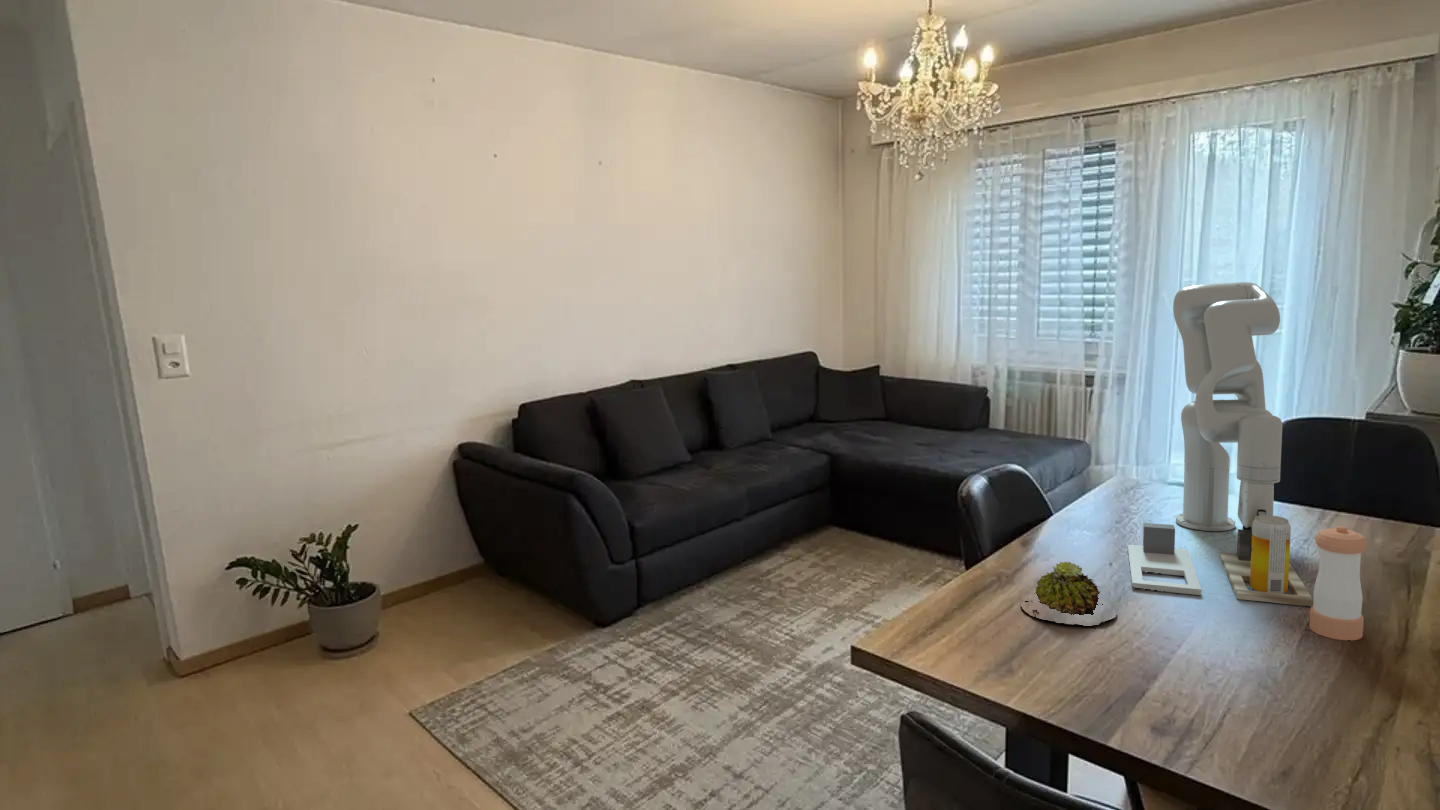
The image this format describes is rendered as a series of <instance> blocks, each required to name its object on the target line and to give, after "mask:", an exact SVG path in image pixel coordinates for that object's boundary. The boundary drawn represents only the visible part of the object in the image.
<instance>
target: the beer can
mask: <svg viewBox="0 0 1440 810" xmlns="http://www.w3.org/2000/svg"><path fill="white" fill-rule="evenodd" d="M1291 531H1292V526H1291V524H1290V523H1289V519H1288V518H1286V517H1282V516H1278V515H1273V516H1272V515H1260V516H1256V517H1255V520H1254V521H1253V523H1252V546H1251V570H1250V582H1249V587H1250V588H1251V589H1252V591H1259V592H1270V593H1280V594H1287V593H1288V591H1289V586H1288V575H1289V563H1290V555H1291V554H1290V552H1291V551H1290V550H1291Z"/></svg>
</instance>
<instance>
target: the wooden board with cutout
mask: <svg viewBox="0 0 1440 810" xmlns="http://www.w3.org/2000/svg"><path fill="white" fill-rule="evenodd" d="M1236 537H1237V538H1236V539H1237V540H1236V541H1237V543H1236V553H1235V552H1227V551H1226V552H1225V551H1223V552H1222V551H1219V552H1218V553H1219V555H1218V556H1219V557H1218V558H1219V560H1220V562H1221V565H1222V568H1223V569H1224V572H1225V574H1226V577H1227V580H1228V581H1229V583H1230V586H1231V589H1232V590H1233V593H1234V595H1235V597H1236V599H1237V600H1245V601H1254V602H1255V601H1256V602H1264V603H1273V604H1284V605H1294V606H1304V607H1312V606H1313V597H1312V595H1311V594H1310V591H1308V589H1307V587H1306V586H1305V585H1304V583H1303V581H1302V580H1301V578H1300V577H1299V575H1298V574H1297V573H1296V571H1295V569H1294V568H1293V566H1292V564H1291V563H1290V562H1289V575H1288V588H1289V589H1290V591H1291V593H1292V594H1287V593H1285V594H1280V593H1270V592H1259V591H1253V590H1250V589H1248V587H1247V585H1246V584H1245V582H1248V583H1250V570H1251V557H1250V542H1251V539H1252V530H1243V528H1241V529H1239V528H1238V529H1237V536H1236Z"/></svg>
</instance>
